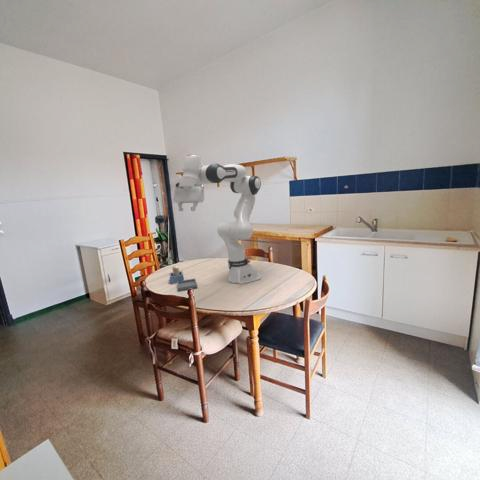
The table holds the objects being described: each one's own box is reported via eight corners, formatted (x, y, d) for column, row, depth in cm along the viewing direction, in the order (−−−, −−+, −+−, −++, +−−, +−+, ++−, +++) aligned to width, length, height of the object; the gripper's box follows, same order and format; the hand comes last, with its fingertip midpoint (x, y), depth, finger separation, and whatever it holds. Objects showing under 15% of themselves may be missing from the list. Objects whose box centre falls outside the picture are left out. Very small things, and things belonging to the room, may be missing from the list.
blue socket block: (183, 277, 186) (182, 271, 185) (184, 282, 178) (183, 275, 177) (170, 279, 184) (169, 273, 183) (170, 284, 176) (169, 277, 175)
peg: (179, 279, 184) (178, 266, 181) (180, 281, 180) (178, 267, 178) (174, 280, 183) (172, 266, 180) (174, 282, 179) (172, 268, 177)
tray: (195, 281, 177) (195, 278, 176) (197, 288, 165) (197, 284, 165) (177, 284, 174) (177, 281, 173) (178, 291, 162) (177, 287, 162)
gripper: (208, 185, 133) (205, 212, 133) (181, 187, 145) (178, 212, 145) (199, 181, 128) (196, 209, 128) (172, 184, 140) (169, 210, 140)
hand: (186, 211), depth 136 cm, fingers open, 8 cm apart
